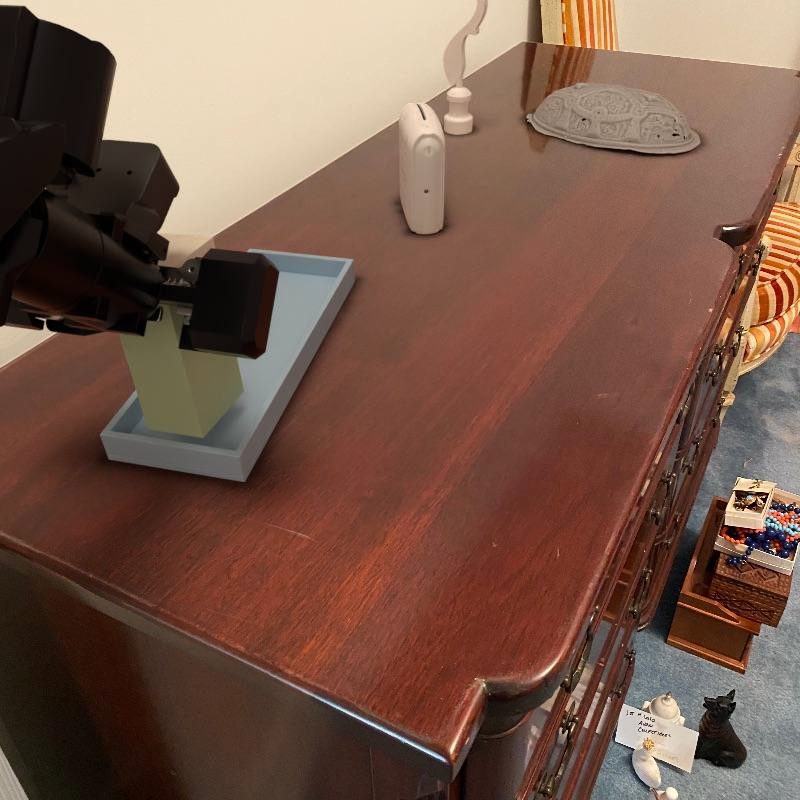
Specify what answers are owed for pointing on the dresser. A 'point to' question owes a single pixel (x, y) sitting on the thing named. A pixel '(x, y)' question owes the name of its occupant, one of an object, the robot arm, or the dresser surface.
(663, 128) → the grey textured dome
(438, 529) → the dresser surface
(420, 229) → the photo printer
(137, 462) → the dish tray
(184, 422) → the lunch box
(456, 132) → the decorative finial
